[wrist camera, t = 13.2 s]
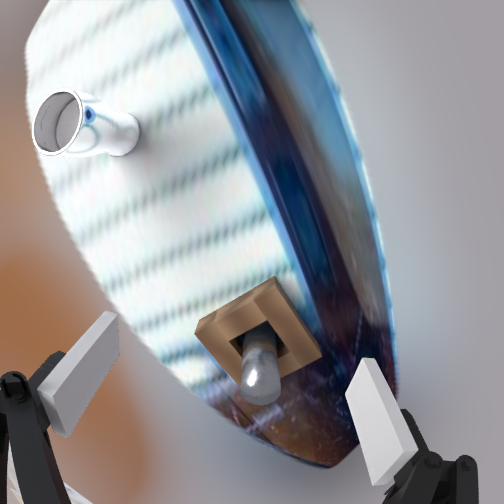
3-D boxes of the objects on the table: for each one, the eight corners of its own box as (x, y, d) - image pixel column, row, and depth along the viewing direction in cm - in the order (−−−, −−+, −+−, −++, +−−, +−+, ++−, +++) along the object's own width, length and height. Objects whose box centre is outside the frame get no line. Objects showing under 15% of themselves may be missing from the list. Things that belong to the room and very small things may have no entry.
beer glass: (152, 125, 35) (97, 103, 21) (124, 169, 37) (60, 171, 22) (116, 101, 34) (54, 75, 20) (90, 144, 36) (21, 138, 21)
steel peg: (264, 313, 42) (267, 369, 29) (280, 336, 43) (288, 394, 30) (238, 328, 42) (232, 386, 30) (255, 349, 43) (254, 410, 31)
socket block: (274, 276, 40) (275, 287, 36) (317, 341, 43) (322, 356, 39) (199, 319, 42) (194, 333, 38) (247, 377, 45) (246, 393, 41)
